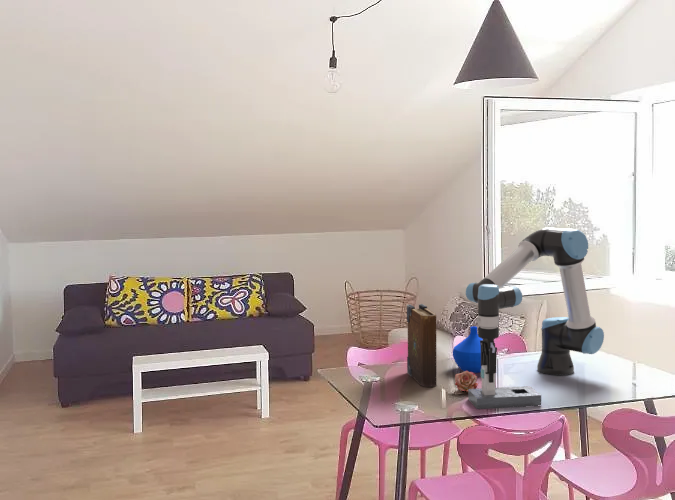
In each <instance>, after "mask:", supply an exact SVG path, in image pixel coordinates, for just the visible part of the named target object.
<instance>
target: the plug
mask: <svg viewBox="0 0 675 500" xmlns="http://www.w3.org/2000/svg"><path fill="white" fill-rule="evenodd" d="M485 372H487V365H482V369H481V373H480V377H481V388H482V394H483V395H495V388H496V373H495V374H494V391H486V373H485Z"/></svg>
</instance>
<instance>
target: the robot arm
mask: <svg viewBox="0 0 675 500" xmlns="http://www.w3.org/2000/svg"><path fill="white" fill-rule="evenodd" d="M517 246H518V247H517V248H516V249H515V250H514V251H513V252H512V253H510V254H509V255H507V257H506V258H505V259H503V261H501V262H500V263H499V264H497V266H496V267H494V269H492V270H491V271H490V272H489V273H488V274H487V275H485V277H483V278H482V279H481V280H480V281H479V282H470V283H469V284H468V285H467V287H466V289H465V296H466V297H465V298H467V300H469V301H470V302H473V303H475V304H477V314H478V315H477V318H476V321H477V326H478V327H477V334H478V337H480V338H482V339H483V340H480V345H481V366H482V365H487V372H485V373H486V391H494V374H495V375H496V374H497V354H498V353H497V352H498V348H497V347H496V343H495V339H498V338H499V337H500V329H499V326H500V310H501V309H508V308H514V307H516V306H517V307H518V306H519V305H520V304H522V300H523V293H522V290H521V289H520V288H519V287H517V286H510V285H509V286H506V285H507V284H508V283H509V282H510V281H511V280H512V279H513V278H515V276H517V274H519V273H520V272H522V270H523V269H524V268H526V267H527V266H528V265H529V263H531V262H535V261H536V260H538V259H539V258H541V257H552V258H553V263H554V265H555V266H557V267H558V268H559V272H560V278H561V285H562V290H563V296H564V300H565V306H566V311H567V315H568V316H557V317H556V316H555V317H554V316H553V317H547V318H544V319H543V320H542V323H541V329H540V330H541V354H540V355H539V356H540V357H539V359H538V362H537V367H536V368H537V371H538V372H539V373H541V374H545V375H551V376H566V375H567V376H568V375H571V374H574V373H575V372H574V371H575V365H574V363H573V360H572V356H571V351H573V352H576V353H577V352H578V353H582V354H583V355H595V354H597V352H599V351H600V349H601V348H602V345H603V344H604V339H605V332H604V330H603V329H602V327H600V326H597V322H596V319H595V318H594V317H592V316H591V313H590V312H591V311H590V306H589V301H588V296H587V289H586V284H585V283H586V282H585V278H584V271H583V267H582V263H583V262H584V260H585V258H586V256H587V254H588V249H589V241H588V238H587V236H586V234H585V233H584V232H583V231H581V230H580V229H574V228H571V227H570V228H564V227H562V228H559V227H543V228H540V229H538V230H535V231H534V232H532V233H531V234H529V235H528V236H526V237H525V238H523V239H522V240H521V241H520V242H519V243H518V245H517Z"/></svg>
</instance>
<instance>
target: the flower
mask: <svg viewBox="0 0 675 500" xmlns="http://www.w3.org/2000/svg"><path fill="white" fill-rule="evenodd" d="M477 381H478V376H477V375H476V373H473V372H469V371H462V372H460V373H456V374H455V376H454V382H455V383H454V385H455V386H456V388H457V390H458V391H460V390H461V391H460V392H462V391H464V392H465V391H466V392H467V393H468V389H478V386H479V383H478V382H477Z"/></svg>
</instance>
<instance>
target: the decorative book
mask: <svg viewBox="0 0 675 500" xmlns="http://www.w3.org/2000/svg"><path fill="white" fill-rule="evenodd" d="M406 322H407V356H406V358H407V359H406V363H407V365H406V367H407V368H406V369H407V370H406V372H407V373H406V374H408V375H409V376H410V377H411V378H413V379H414V380H415V381H416V382H417V383H418V384H419V385H420V386H422V387H427V388H428V387H436V386H437V314H436V312H433V311H432V310H430V309H428V306H427V305H425V304H423V303H419V304H418V308H416V307H415V306H414V305H412V304H406Z"/></svg>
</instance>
